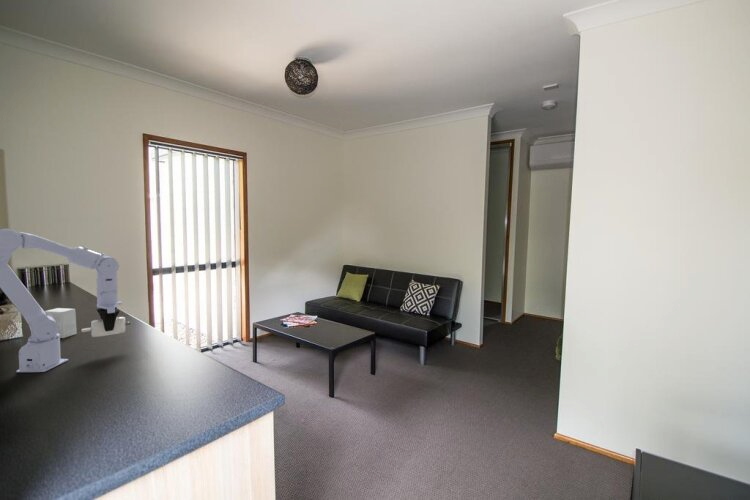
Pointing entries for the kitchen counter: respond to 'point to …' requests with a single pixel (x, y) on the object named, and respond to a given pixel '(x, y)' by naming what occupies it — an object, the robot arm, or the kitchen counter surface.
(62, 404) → the kitchen counter surface
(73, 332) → the small box
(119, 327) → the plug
